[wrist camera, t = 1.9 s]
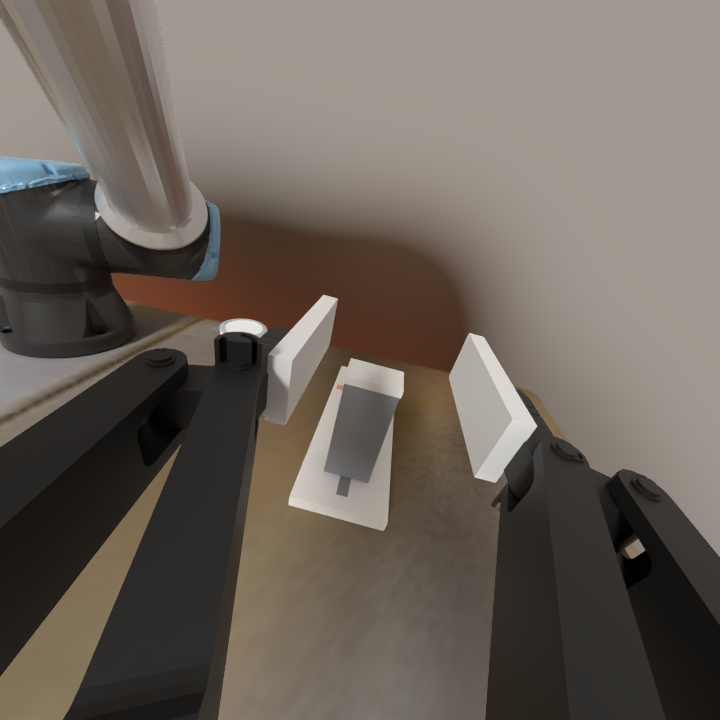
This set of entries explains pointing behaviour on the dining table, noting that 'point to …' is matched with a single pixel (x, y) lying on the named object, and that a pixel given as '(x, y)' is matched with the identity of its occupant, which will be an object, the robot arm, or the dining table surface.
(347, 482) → the fader base
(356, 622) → the dining table surface
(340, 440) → the fader tab
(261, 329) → the white cup
